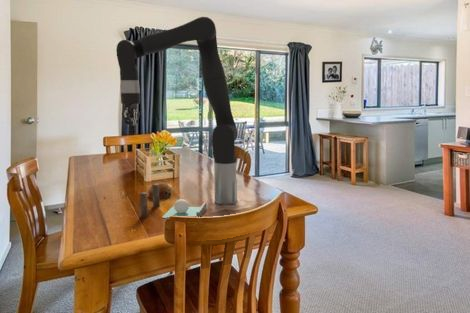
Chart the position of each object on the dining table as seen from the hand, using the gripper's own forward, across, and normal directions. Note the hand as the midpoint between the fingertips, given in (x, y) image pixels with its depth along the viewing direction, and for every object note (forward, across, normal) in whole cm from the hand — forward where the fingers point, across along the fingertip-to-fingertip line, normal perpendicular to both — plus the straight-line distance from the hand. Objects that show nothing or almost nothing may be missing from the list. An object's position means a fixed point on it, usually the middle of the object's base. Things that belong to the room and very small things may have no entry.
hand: (132, 134), depth 147 cm
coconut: (+29, +9, -8) cm, 31 cm away
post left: (+29, -18, -11) cm, 36 cm away
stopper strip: (+29, -12, -31) cm, 44 cm away
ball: (+26, -13, -24) cm, 37 cm away
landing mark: (+29, -12, -25) cm, 40 cm away
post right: (+29, -5, -11) cm, 31 cm away
